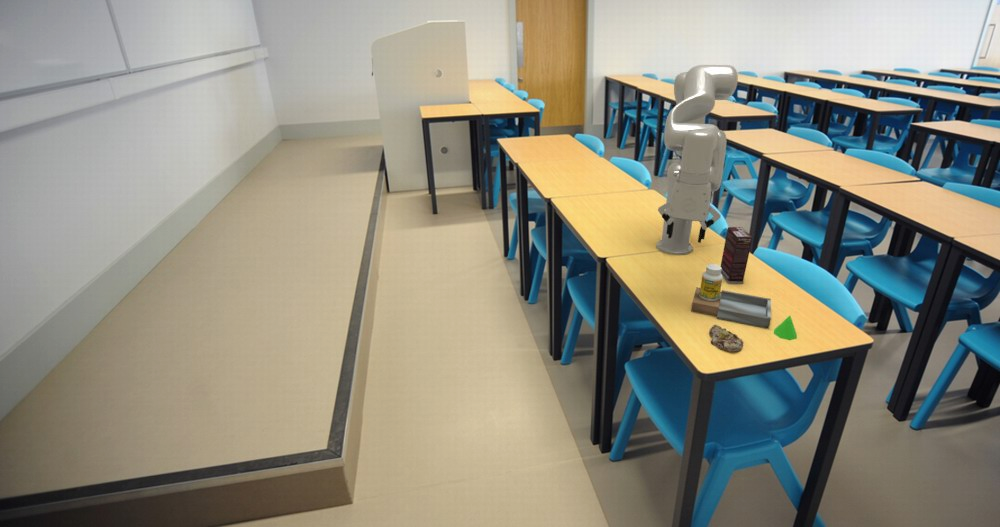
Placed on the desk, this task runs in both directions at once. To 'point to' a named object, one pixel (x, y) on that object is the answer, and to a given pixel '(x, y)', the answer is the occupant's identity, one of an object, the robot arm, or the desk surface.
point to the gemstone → (786, 330)
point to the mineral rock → (725, 339)
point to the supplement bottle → (711, 283)
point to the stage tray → (735, 308)
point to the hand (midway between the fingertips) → (684, 238)
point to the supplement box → (735, 255)
